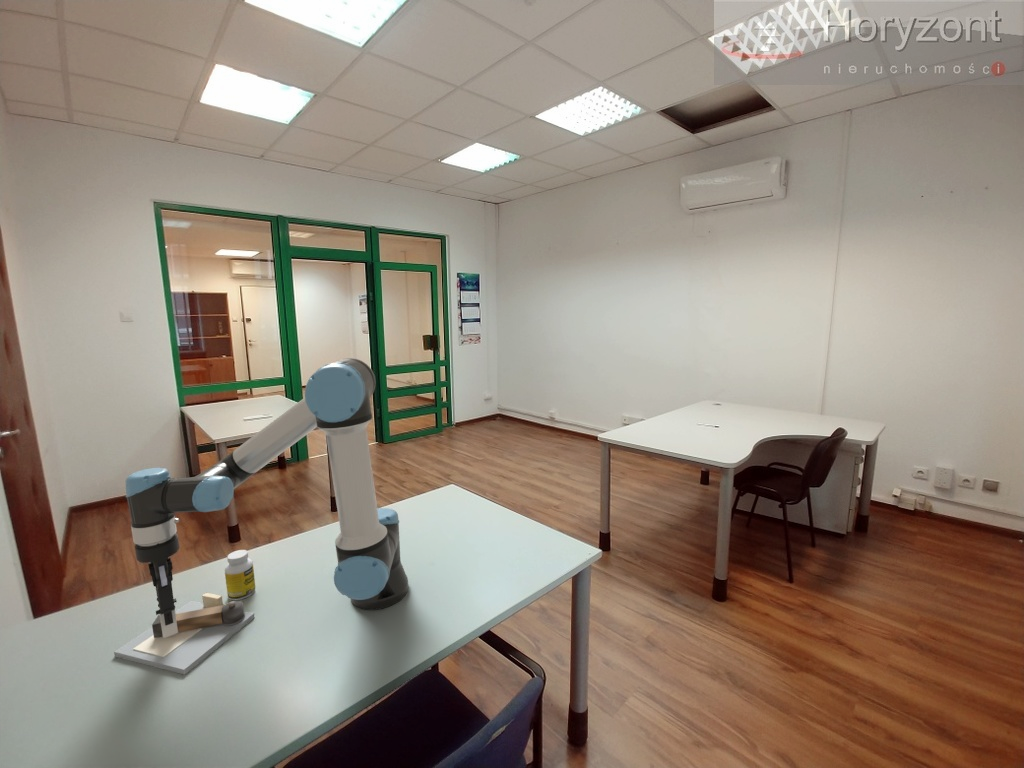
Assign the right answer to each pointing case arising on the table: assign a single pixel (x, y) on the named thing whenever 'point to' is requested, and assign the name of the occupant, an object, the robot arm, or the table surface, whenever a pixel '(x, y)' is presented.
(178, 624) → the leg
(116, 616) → the table surface
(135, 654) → the board
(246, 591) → the pill bottle
